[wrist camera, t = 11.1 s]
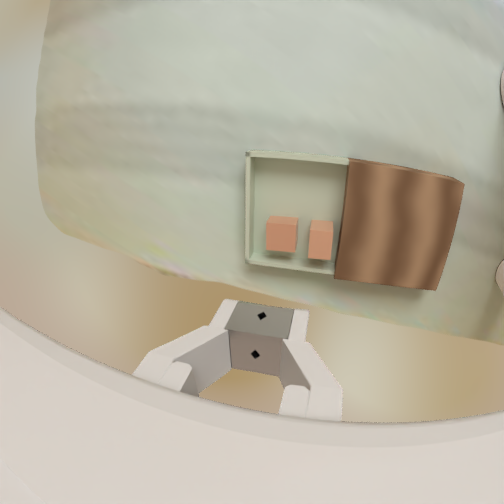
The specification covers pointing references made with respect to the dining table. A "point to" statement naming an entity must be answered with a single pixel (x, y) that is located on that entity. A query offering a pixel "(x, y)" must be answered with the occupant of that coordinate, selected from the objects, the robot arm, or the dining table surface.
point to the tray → (292, 204)
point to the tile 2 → (320, 239)
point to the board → (396, 225)
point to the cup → (500, 276)
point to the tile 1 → (282, 233)
